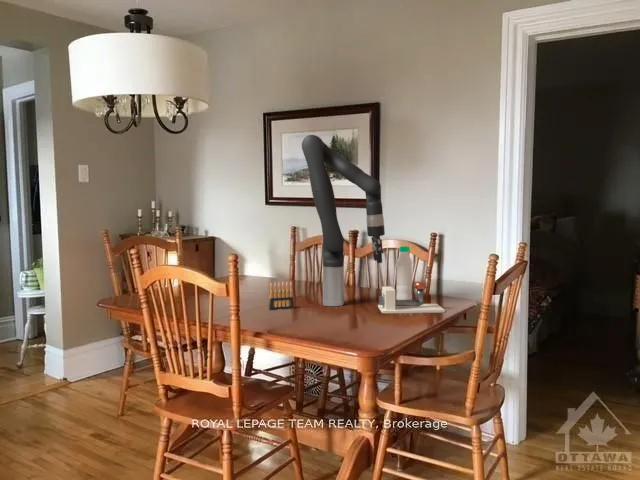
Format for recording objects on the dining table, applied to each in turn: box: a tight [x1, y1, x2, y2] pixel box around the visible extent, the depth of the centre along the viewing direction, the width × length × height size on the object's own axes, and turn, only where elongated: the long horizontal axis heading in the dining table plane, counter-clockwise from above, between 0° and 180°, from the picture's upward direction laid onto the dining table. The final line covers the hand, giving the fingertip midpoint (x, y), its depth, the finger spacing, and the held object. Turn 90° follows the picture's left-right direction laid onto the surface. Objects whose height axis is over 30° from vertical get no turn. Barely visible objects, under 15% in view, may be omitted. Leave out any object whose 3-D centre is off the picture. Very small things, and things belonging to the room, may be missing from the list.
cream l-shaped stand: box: [377, 286, 446, 314], centre depth 243 cm, size 26×13×9 cm, turn 93°
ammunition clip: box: [268, 280, 295, 311], centre depth 245 cm, size 11×2×12 cm, turn 109°
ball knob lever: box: [378, 281, 427, 307], centre depth 242 cm, size 20×5×10 cm, turn 93°
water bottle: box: [395, 245, 413, 300], centre depth 262 cm, size 7×7×25 cm
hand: (378, 261), depth 251 cm, fingers open, 8 cm apart
